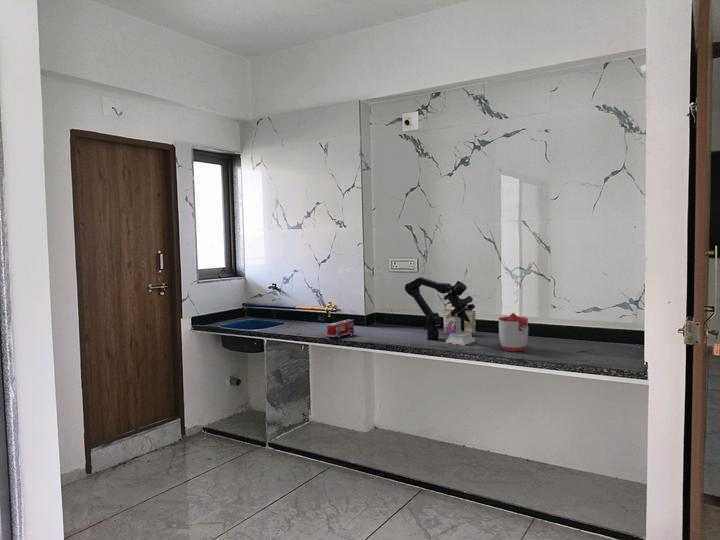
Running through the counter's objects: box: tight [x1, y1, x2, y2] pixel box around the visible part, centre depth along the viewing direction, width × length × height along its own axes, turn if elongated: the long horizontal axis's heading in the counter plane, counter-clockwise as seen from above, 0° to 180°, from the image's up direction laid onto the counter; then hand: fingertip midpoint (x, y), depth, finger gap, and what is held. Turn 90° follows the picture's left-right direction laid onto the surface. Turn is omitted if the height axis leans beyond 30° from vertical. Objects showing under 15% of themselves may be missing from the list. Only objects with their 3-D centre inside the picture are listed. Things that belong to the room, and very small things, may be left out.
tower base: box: [445, 331, 476, 346], centre depth 321 cm, size 12×12×5 cm
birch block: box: [463, 310, 476, 335], centre depth 316 cm, size 4×4×12 cm
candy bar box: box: [442, 307, 462, 335], centre depth 348 cm, size 11×5×16 cm, turn 35°
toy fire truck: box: [325, 318, 356, 339], centre depth 352 cm, size 9×19×10 cm, turn 132°
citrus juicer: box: [498, 312, 529, 353], centre depth 297 cm, size 16×17×20 cm
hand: (471, 321), depth 315 cm, fingers closed on birch block, 4 cm apart
